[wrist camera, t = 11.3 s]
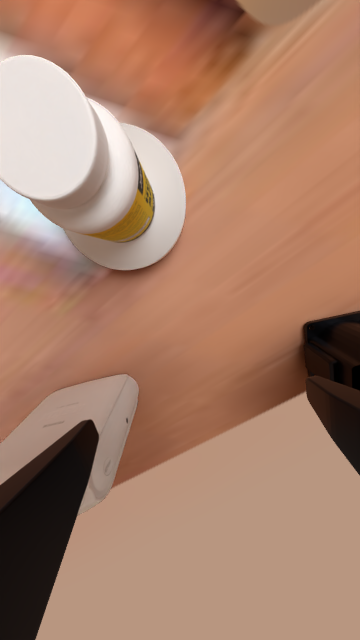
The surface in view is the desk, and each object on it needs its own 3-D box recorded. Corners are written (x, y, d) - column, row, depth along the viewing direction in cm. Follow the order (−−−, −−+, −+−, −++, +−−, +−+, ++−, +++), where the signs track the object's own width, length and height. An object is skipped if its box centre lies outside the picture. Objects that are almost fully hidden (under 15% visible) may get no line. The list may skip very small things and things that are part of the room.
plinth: (169, 124, 17) (166, 103, 14) (196, 254, 20) (198, 253, 17) (53, 161, 18) (32, 146, 15) (94, 279, 20) (82, 282, 18)
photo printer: (133, 367, 23) (77, 483, 11) (145, 400, 24) (106, 538, 12) (47, 388, 24) (-89, 516, 12) (63, 419, 25) (-47, 563, 13)
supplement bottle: (170, 216, 16) (150, 162, 7) (115, 256, 17) (32, 256, 8) (128, 147, 15) (36, -31, 6) (71, 194, 16) (-88, 106, 7)
